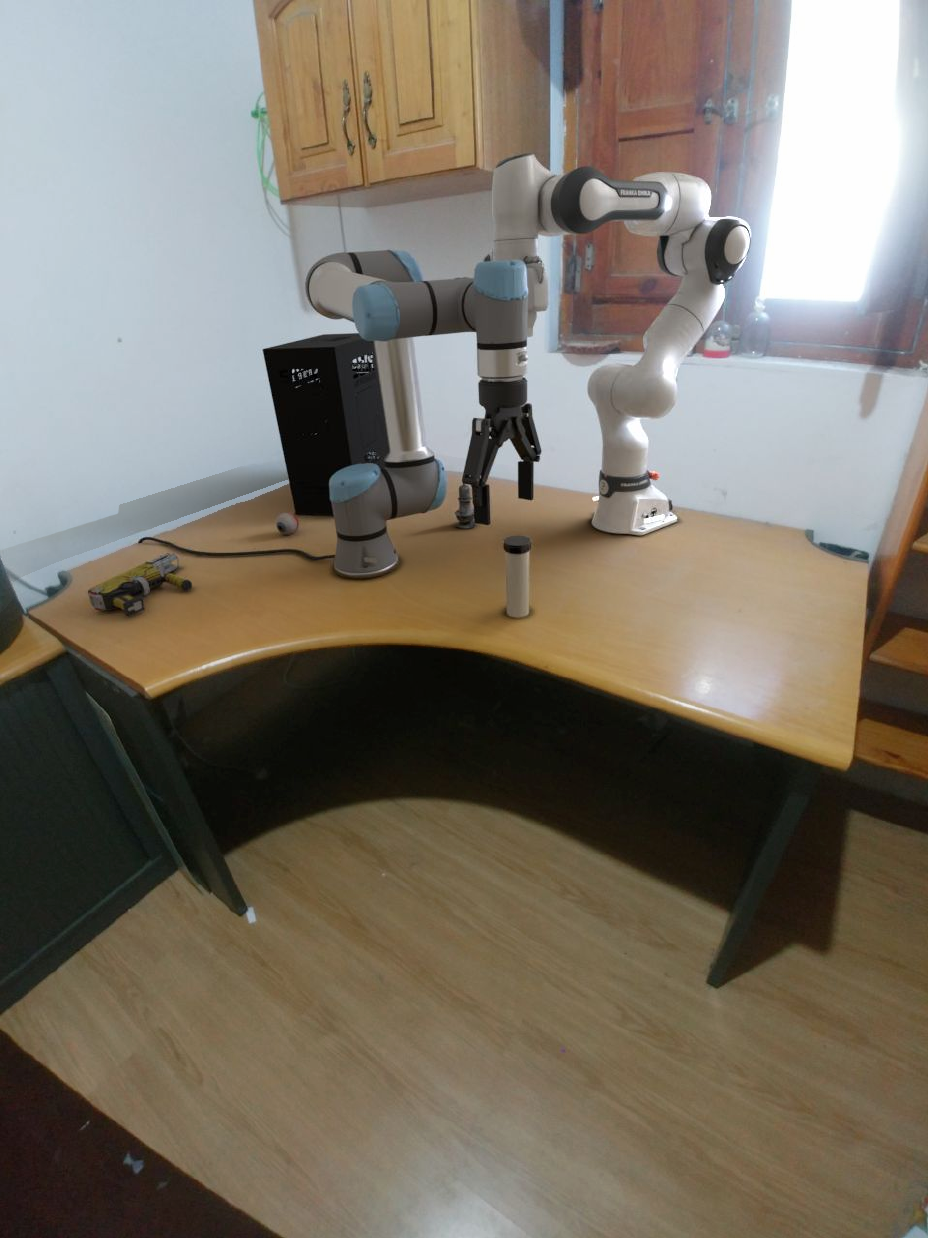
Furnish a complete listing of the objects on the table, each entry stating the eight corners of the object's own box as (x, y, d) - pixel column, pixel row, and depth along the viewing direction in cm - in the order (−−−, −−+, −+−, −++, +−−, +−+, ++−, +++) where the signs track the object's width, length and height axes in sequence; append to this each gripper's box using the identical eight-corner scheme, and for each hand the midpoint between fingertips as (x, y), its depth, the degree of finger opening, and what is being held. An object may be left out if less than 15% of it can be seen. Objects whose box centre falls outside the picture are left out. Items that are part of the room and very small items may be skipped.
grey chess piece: (474, 529, 161) (472, 485, 155) (453, 528, 162) (450, 485, 156) (478, 521, 166) (476, 478, 160) (457, 520, 167) (455, 478, 161)
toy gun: (216, 561, 144) (165, 550, 148) (137, 604, 124) (81, 590, 128) (219, 578, 146) (168, 567, 150) (142, 623, 126) (86, 609, 130)
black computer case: (359, 516, 174) (334, 346, 152) (295, 513, 179) (262, 349, 156) (400, 477, 206) (384, 331, 183) (345, 476, 210) (323, 334, 188)
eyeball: (273, 537, 164) (268, 516, 161) (287, 528, 169) (282, 508, 166) (291, 539, 161) (286, 518, 158) (305, 530, 166) (301, 510, 163)
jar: (532, 609, 122) (533, 540, 115) (522, 619, 119) (522, 548, 111) (512, 604, 124) (512, 536, 117) (502, 614, 121) (500, 544, 113)
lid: (535, 545, 115) (535, 537, 114) (523, 556, 111) (523, 547, 111) (511, 541, 118) (511, 533, 117) (498, 551, 114) (498, 542, 113)
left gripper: (475, 393, 81) (481, 539, 92) (563, 366, 98) (559, 492, 109) (432, 390, 85) (442, 530, 96) (523, 365, 102) (524, 486, 113)
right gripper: (557, 254, 111) (556, 336, 118) (505, 258, 127) (506, 331, 134) (528, 255, 109) (527, 339, 116) (478, 260, 125) (481, 333, 132)
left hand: (505, 510), depth 103 cm, fingers open, 13 cm apart
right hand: (516, 335), depth 125 cm, fingers open, 8 cm apart
